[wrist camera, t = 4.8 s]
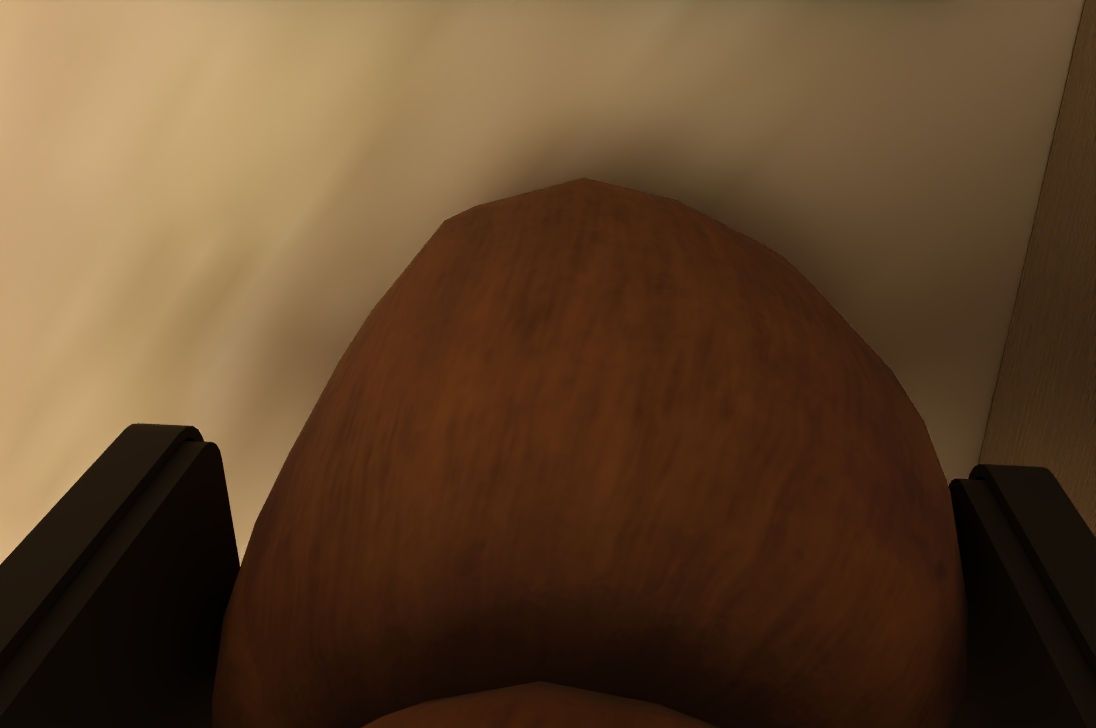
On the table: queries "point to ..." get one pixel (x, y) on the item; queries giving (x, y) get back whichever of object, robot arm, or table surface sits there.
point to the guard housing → (1057, 308)
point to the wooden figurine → (601, 498)
